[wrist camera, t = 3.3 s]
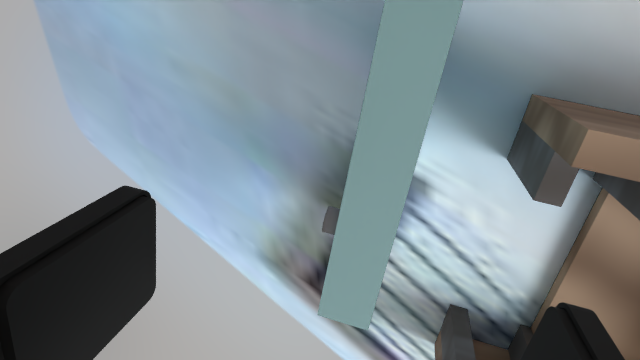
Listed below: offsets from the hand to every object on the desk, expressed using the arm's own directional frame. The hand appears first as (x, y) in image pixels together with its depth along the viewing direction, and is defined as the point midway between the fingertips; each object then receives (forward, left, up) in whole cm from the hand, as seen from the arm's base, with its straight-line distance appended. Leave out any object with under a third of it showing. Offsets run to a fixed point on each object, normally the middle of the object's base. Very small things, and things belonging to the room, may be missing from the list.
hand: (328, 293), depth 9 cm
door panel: (0, 0, -17) cm, 17 cm away
